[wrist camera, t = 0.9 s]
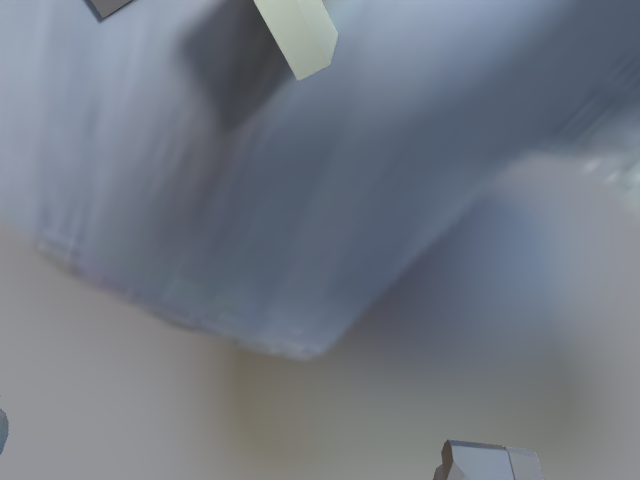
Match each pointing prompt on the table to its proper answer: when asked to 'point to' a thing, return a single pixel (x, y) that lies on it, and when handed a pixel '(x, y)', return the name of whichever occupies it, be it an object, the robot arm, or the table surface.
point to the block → (301, 33)
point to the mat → (108, 6)
